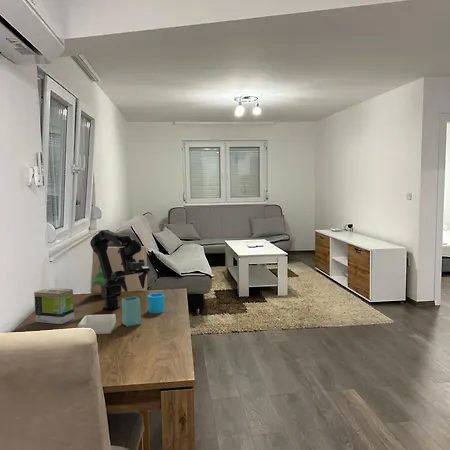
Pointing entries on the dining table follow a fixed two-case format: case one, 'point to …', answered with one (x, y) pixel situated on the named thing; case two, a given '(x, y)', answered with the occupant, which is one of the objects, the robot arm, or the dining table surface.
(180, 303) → the dining table surface
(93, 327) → the white crate
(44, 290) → the tea box
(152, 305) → the mug
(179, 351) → the dining table surface
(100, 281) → the decorative tree
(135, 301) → the teal crate
